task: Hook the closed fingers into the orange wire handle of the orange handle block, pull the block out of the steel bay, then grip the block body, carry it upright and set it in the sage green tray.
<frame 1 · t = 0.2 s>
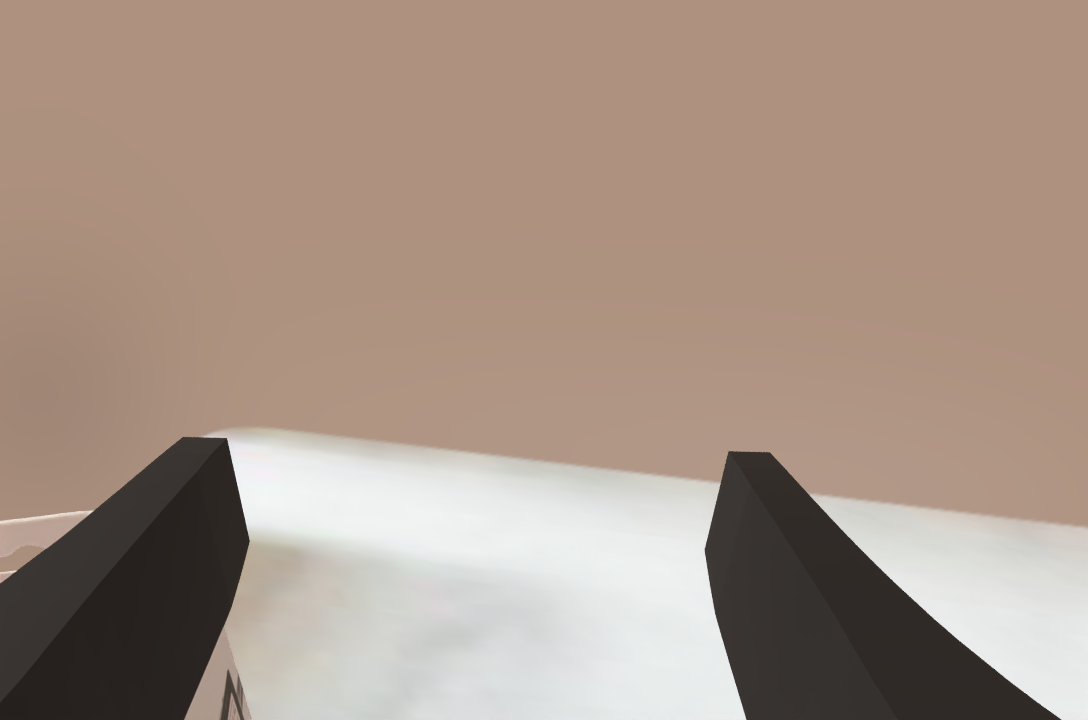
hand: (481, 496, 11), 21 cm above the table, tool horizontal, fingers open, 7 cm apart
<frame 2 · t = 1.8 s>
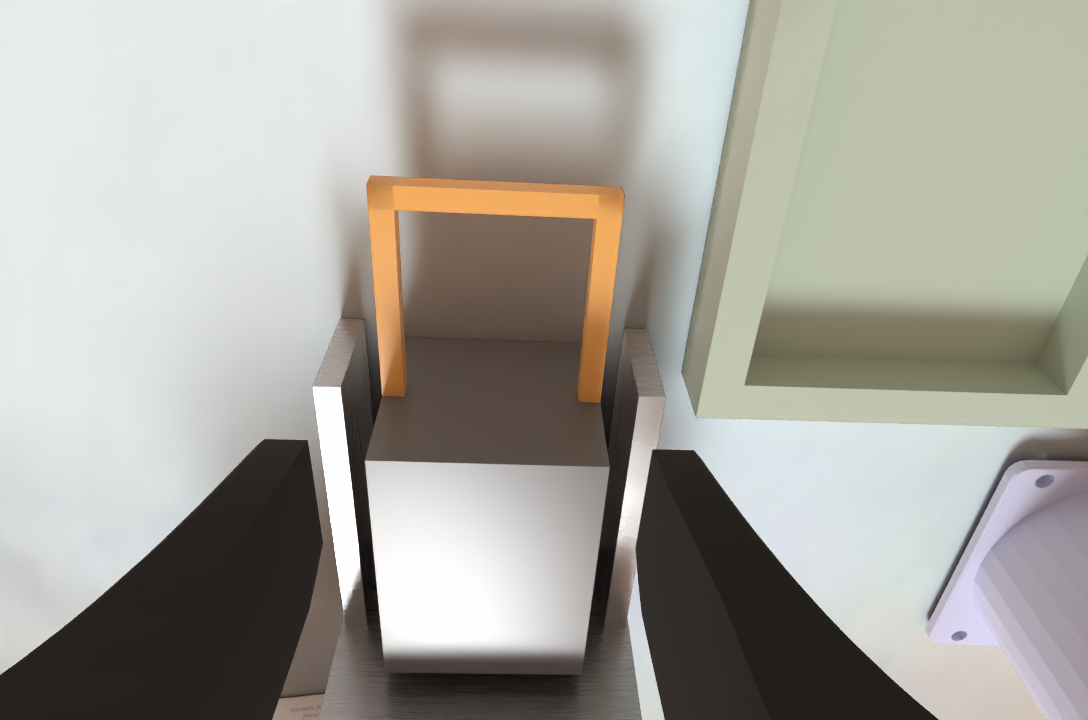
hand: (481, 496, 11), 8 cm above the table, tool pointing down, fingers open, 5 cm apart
orange handle block: (491, 427, 18), in the steel bay
steel bay: (492, 440, 21), on the table
green tray: (979, 43, 16), on the table
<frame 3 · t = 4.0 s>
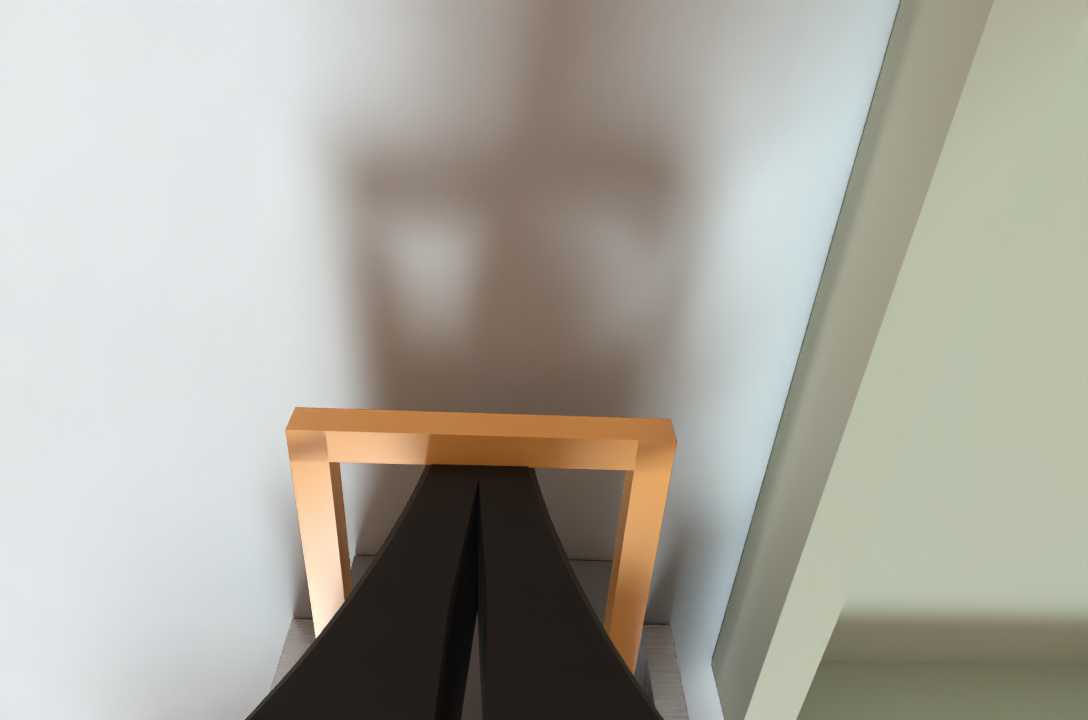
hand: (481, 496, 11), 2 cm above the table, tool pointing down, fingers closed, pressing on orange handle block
orange handle block: (478, 708, 13), on the table, touching gripper
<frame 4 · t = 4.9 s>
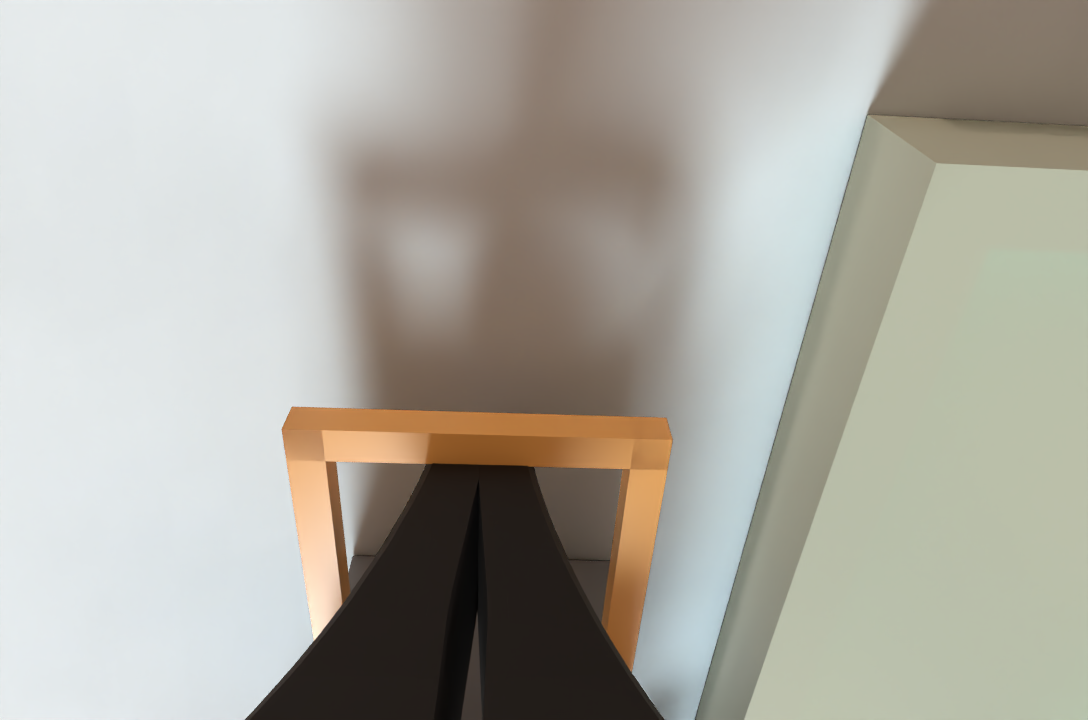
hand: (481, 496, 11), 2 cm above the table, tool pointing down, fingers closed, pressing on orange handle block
orange handle block: (476, 708, 13), on the table, touching gripper
green tray: (989, 561, 15), on the table
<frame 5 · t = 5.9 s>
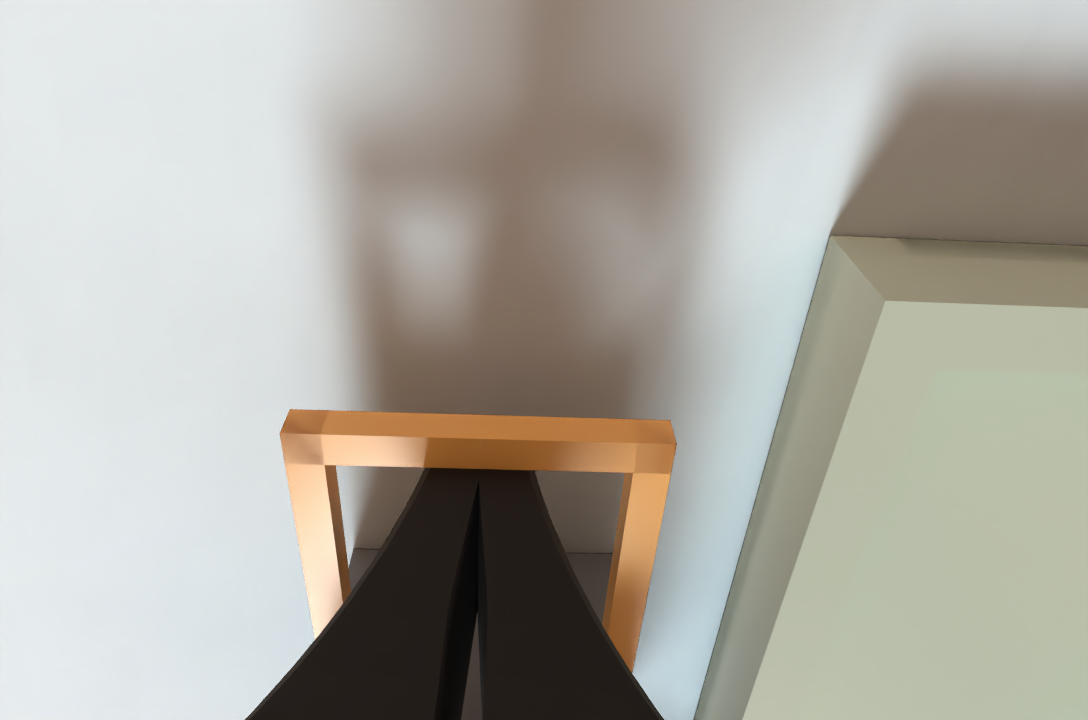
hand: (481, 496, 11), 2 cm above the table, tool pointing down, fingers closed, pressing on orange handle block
orange handle block: (477, 702, 13), on the table, touching gripper
green tray: (956, 617, 16), on the table
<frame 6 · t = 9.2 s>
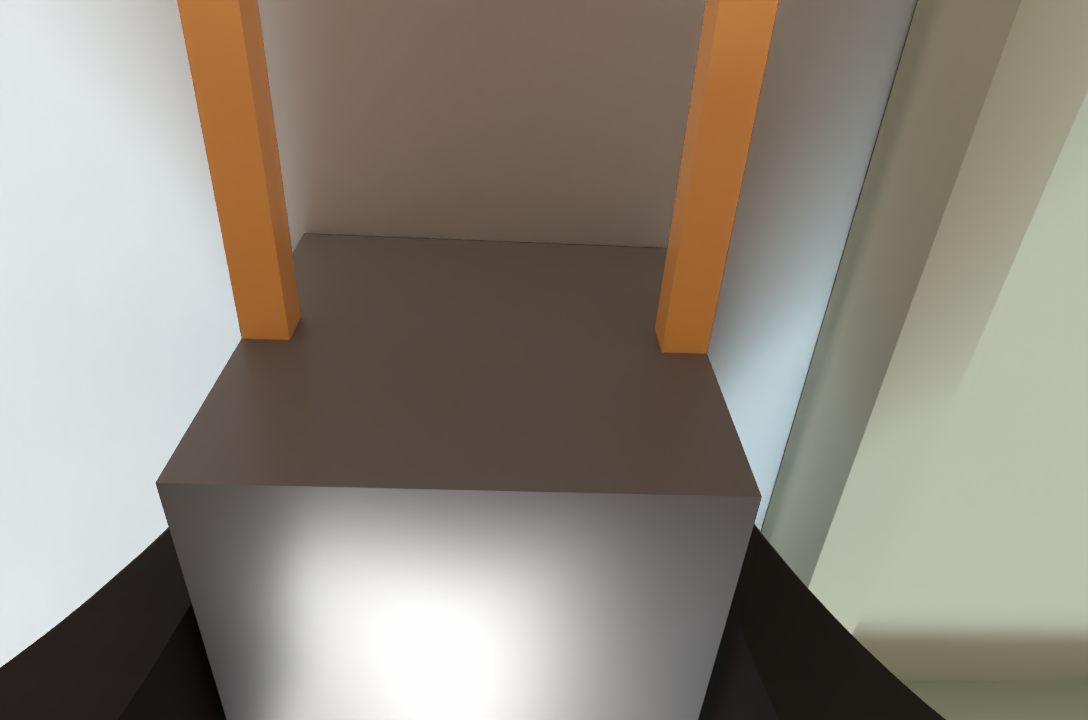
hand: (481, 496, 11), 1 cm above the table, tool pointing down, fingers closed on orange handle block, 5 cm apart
orange handle block: (478, 407, 9), on the table, touching gripper
when the fingers open (3 cm above the table, at t = 13.4 s): orange handle block stays where it is, resting on green tray.
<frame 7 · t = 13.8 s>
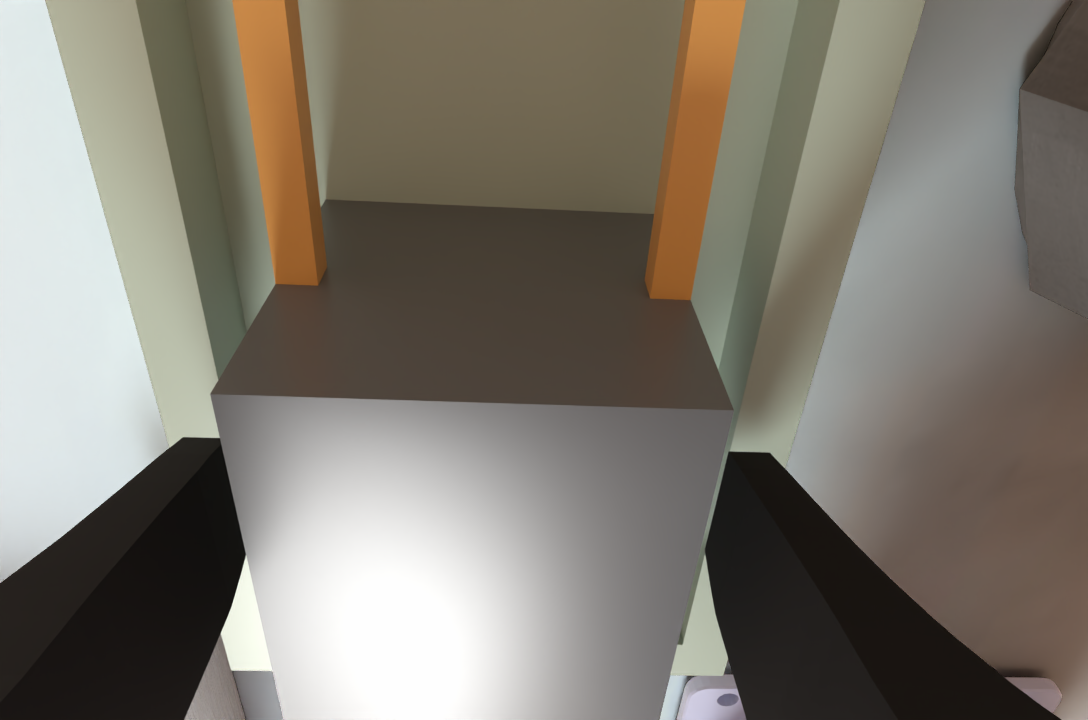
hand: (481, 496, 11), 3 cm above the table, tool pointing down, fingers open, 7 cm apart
orange handle block: (485, 351, 10), in the green tray, point 3 cm above the table
steel bay: (61, 658, 18), on the table
green tray: (491, 249, 12), on the table
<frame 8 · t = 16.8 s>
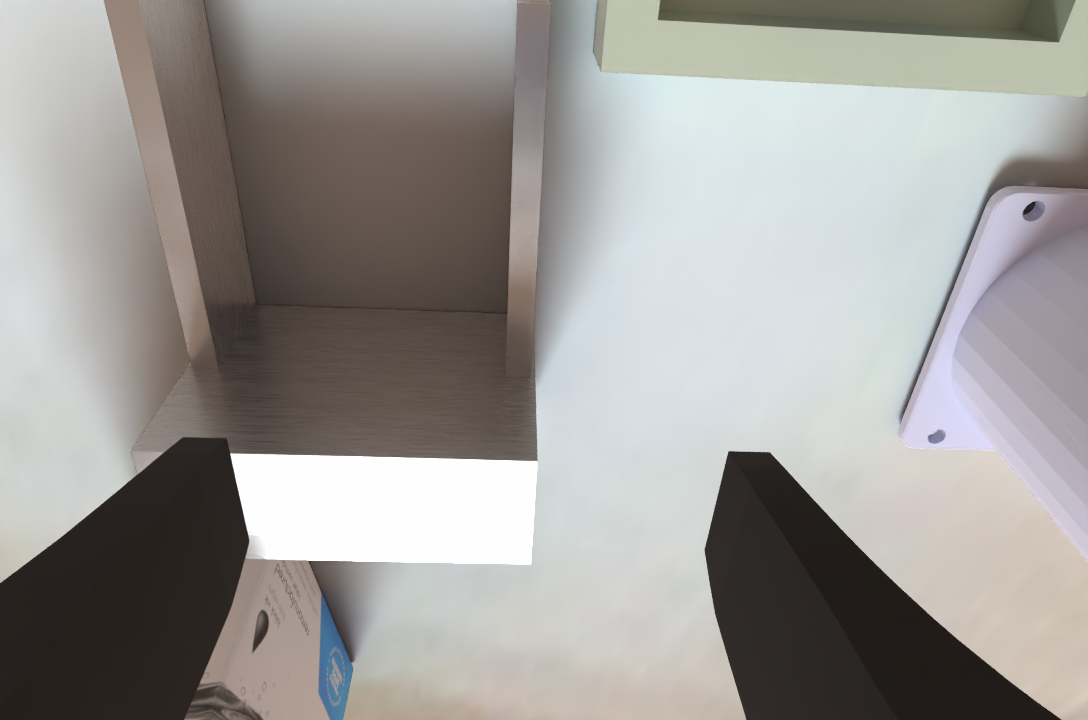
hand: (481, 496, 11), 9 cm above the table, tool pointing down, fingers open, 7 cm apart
ink box: (260, 595, 26), on the table
steel bay: (372, 152, 18), on the table
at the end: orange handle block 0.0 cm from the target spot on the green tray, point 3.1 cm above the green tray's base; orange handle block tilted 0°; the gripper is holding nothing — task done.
